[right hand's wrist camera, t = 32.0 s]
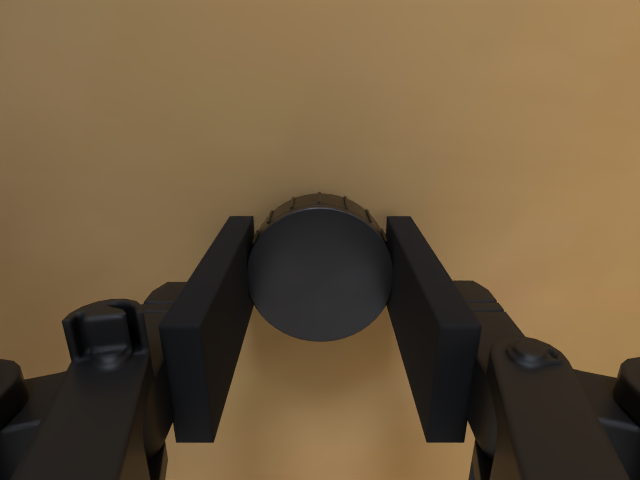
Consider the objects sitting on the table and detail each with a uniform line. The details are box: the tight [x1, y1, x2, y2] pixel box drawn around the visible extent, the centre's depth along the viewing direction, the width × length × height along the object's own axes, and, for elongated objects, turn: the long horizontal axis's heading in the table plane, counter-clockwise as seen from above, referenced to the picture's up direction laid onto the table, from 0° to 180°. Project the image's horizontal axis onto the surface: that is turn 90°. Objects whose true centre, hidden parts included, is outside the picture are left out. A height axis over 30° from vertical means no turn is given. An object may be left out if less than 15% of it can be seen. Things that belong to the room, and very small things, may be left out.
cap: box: [247, 192, 393, 342], centre depth 13 cm, size 4×4×2 cm
